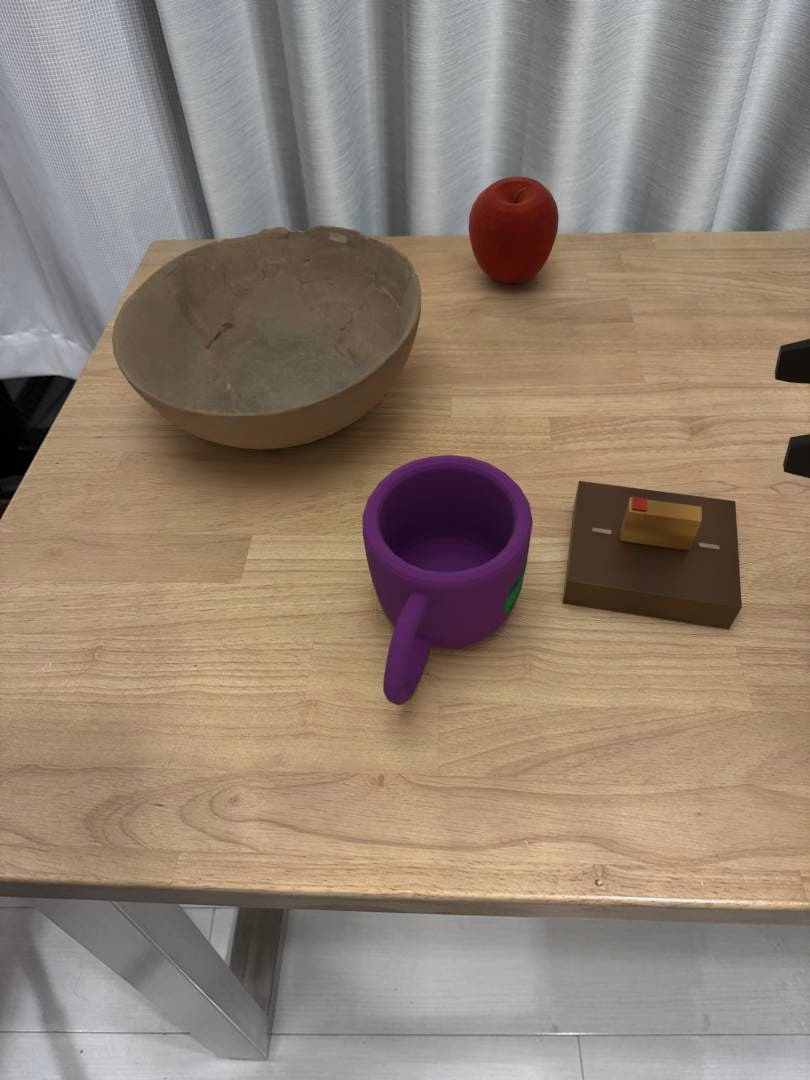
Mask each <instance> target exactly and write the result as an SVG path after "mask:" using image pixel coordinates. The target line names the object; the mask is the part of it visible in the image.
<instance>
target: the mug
mask: <svg viewBox="0 0 810 1080" xmlns="http://www.w3.org/2000/svg"><path fill="white" fill-rule="evenodd" d="M532 531H533V515H532V510H531V505H530V501H529V500H528V498H527V497H526V495H525V493H524V491H523V489H522V488H521V486H520V484H518V483H517V482H516V481H514V480H513V478H511V476H509V475H508V474H507V473H506V472H505V471H503V470H502V469H500V468H498V467H496V466H495V465H493V464H491V463H490V462H487V461H483V460H481V459H478V458H475V457H471V456H465V455H457V454H456V455H455V454H442V455H430V456H426V457H422V458H419V459H416V460H415V459H414V460H412V461H409V462H407V463H405V464H403V465H401V466H398V467H397V468H395V469H393V470H392V471H391V472H390V473H388V474H387V475H386V476H385V477H384V478H382V479H381V480H380V481H379V482H378V484H377V485H376V486H375V488H374V489H373V490H372V492H371V493H370V495H369V496H368V498H367V501H366V504H365V506H364V510H363V513H362V539H363V545H364V551H365V558H366V562H367V567H368V570H369V575H370V579H371V582H372V586H373V589H374V591H375V593H376V596H377V599H378V601H379V604H380V606H381V609H382V611H383V613H384V614H385V616H386V617H387V618H388V620H389V621H390V622H391V624H392V625H393V626H394V629H393V632H392V634H391V639H390V642H389V646H388V653H387V656H386V662H385V666H384V674H383V685H382V691H383V693H384V696H385V698H386V700H387V701H388V702H389V703H391V704H393V705H395V706H403V705H405V704H406V703H407V702H409V701H410V700H412V698H413V696H414V694H415V692H416V690H417V689H418V686H419V684H420V682H421V678H422V676H423V674H424V671H425V668H426V665H427V662H428V660H429V657H430V653H431V650H432V648H436V649H444V650H445V649H458V648H464V647H469V646H471V645H474V644H477V643H480V642H482V641H483V640H485V639H487V638H488V637H490V636H491V635H493V634H494V633H496V632H497V631H498V630H499V629H500V628H501V627H502V626H503V625H504V624H505V622H507V621H508V619H509V617H510V615H511V613H512V611H513V609H514V607H515V604H516V602H517V600H518V598H519V596H520V593H521V592H522V591H521V590H522V587H523V582H524V579H525V575H526V568H527V564H528V557H529V550H530V544H531V537H532Z"/></svg>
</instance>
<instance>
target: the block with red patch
mask: <svg viewBox="0 0 810 1080" xmlns="http://www.w3.org/2000/svg"><path fill="white" fill-rule="evenodd" d="M701 522H702V508H701V507H699V506H691V505H684V504H676V503H669V502H661V501H653V500H647V498H639V497H633V498H629V502H628V505H627V509H626V512H625V515H624V519H623V522H622V526H621V536H620V540H621V541H624V542H631V543H638V544H645V545H652V546H659V547H666V548H673V549H680V550H687V551H689V550H690V548H691V545H692V543H693V541H694V538H695V536H696V534H697V531H698V529H699V527H700V524H701Z"/></svg>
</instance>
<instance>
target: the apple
mask: <svg viewBox="0 0 810 1080" xmlns="http://www.w3.org/2000/svg"><path fill="white" fill-rule="evenodd" d="M559 217H560V215H559V209H558V204H557V202H556V200H555V198H554V196H553V193H552V192H551V191H550V190H549V189H548V188H547V187H546V186H544V185H543V183H541V182H540V181H538V180H536V179H534V178H530V177H527V176H510V177H509V176H508V177H504V178H502V179H498V180H497V181H495V182H493V183H491V184H490V185H489V186H487V187H486V188H485V189H483V190H482V191H481V192H479V194H478V195H477V197H476V198H475V200H474V202H473V204H472V205H471V209H470V212H469V216H468V237H469V241H470V246H471V251H472V253H473V256H474V259H475V261H476V263H477V265H478V266H479V268H480V269H481V270H482V272H483V273H484V274H485V275H486V276H487V277H489V278H490V279H492V280H494V281H496V282H499V283H504V284H521V283H524V282H527V281H529V280H531V279H533V278H534V277H536V276H537V275H538V273H540V271H541V270H542V269H543V268H544V267H545V265H546V263H547V261H548V259H549V257H550V255H551V253H552V250H553V247H554V245H555V242H556V239H557V234H558V231H559V222H560V221H559V219H560V218H559Z"/></svg>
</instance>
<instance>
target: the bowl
mask: <svg viewBox="0 0 810 1080" xmlns="http://www.w3.org/2000/svg"><path fill="white" fill-rule="evenodd" d="M421 314H422V290H421V283H420V278H419V275H418V274H417V272H416V269H415V267H414V265H413V263H412V262H411V260H409V258H408V256H407V255H405V254H404V253H403V252H401V251H400V249H398V248H396V247H395V246H394V245H393V244H391V243H388V242H384V241H383V242H382V241H379V239H377V238H375V237H373V236H367V235H366V234H365V233H363V232H362V231H359V230H357V229H351V228H347V227H344V226H343V227H341V226H333V225H324V224H316V225H313V226H310V227H308V228H307V229H306V230H292V231H290V230H289V229H288V228H287V227H283V226H280V225H279V226H275V227H272V228H270V229H269V228H264V229H261V230H260V231H258V232H257V233H252V234H250V235H246V236H241V237H234V238H230V239H229V238H225V239H222V240H215V241H211V242H209V243H206V244H202V245H199V246H197V247H194V248H191V249H190V250H188V251H185V252H183V253H181V254H180V255H178V256H176V257H174V258H172V259H171V260H169V261H167V262H166V263H164V264H163V265H162V266H161V267H159V268H158V269H157V270H155V271H154V272H153V273H152V274H150V275H149V277H147V278H146V279H145V280H144V281H143V282H142V283H141V284H140V285H139V286H138V288H137V289H135V291H133V293H132V294H130V295H129V297H127V298H126V300H125V301H124V302H123V304H122V306H121V308H120V310H119V312H118V313H117V316H116V318H115V321H114V324H113V328H112V336H111V344H112V352H113V357H114V358H115V361H116V364H117V367H118V368H119V371H120V372H121V374H122V376H123V377H124V378H125V379H126V381H127V382H128V384H129V385H130V386H131V388H132V389H133V390H134V391H135V392H136V393H137V394H138V395H139V396H140V397H141V398H142V399H143V400H144V401H145V402H146V403H147V404H148V405H150V406H151V407H152V408H153V409H154V410H155V411H156V412H157V413H158V414H160V415H161V416H162V417H163V418H165V419H166V420H168V421H169V422H171V423H172V424H173V425H175V426H176V427H178V428H179V429H181V430H184V431H186V432H187V433H190V434H192V435H194V436H196V437H197V438H200V439H203V440H205V441H208V442H212V443H215V444H219V445H223V446H226V447H232V448H240V449H246V450H273V449H287V448H291V447H297V446H301V445H306V444H310V443H312V442H315V441H318V440H321V439H323V438H326V437H328V436H331V435H333V434H335V433H337V432H339V431H341V430H342V429H344V428H346V427H348V426H350V425H352V424H354V423H356V422H357V421H358V420H359V419H361V418H363V417H364V416H366V414H368V413H369V412H370V411H371V410H372V409H373V408H374V407H375V406H377V405H378V403H379V402H381V400H382V399H383V398H384V397H385V395H386V394H387V393H388V392H389V391H390V390H391V388H392V386H394V384H395V383H396V381H397V379H398V378H399V376H400V375H401V373H402V371H403V369H404V367H405V365H406V363H407V361H408V360H409V359H408V358H409V356H410V354H411V352H412V350H413V349H412V348H413V346H414V342H415V340H416V336H417V332H418V329H419V324H420V320H421V319H420V318H421Z"/></svg>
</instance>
